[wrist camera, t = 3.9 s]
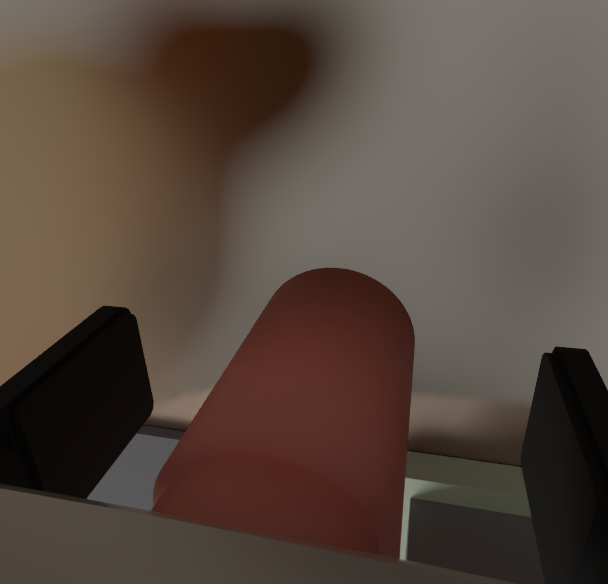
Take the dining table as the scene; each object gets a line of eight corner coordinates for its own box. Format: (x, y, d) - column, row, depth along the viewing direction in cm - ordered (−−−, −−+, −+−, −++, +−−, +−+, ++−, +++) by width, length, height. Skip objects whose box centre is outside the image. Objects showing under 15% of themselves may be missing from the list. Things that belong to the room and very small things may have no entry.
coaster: (211, 435, 16) (206, 443, 15) (235, 594, 19) (231, 604, 19) (-2, 403, 17) (-10, 411, 17) (56, 554, 21) (49, 563, 21)
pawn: (420, 273, 12) (393, 658, 4) (409, 408, 13) (378, 842, 6) (258, 263, 13) (12, 567, 5) (268, 390, 14) (94, 752, 7)
